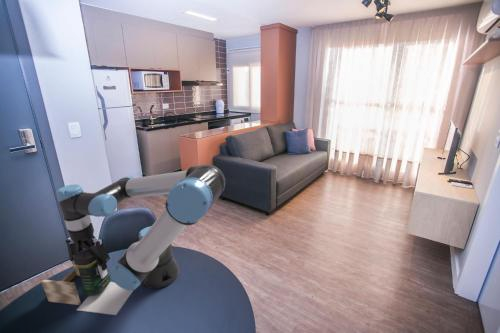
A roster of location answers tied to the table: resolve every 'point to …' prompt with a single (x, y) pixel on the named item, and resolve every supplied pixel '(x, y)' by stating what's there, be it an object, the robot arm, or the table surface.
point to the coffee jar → (90, 273)
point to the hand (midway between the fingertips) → (94, 275)
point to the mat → (106, 300)
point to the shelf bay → (62, 289)
